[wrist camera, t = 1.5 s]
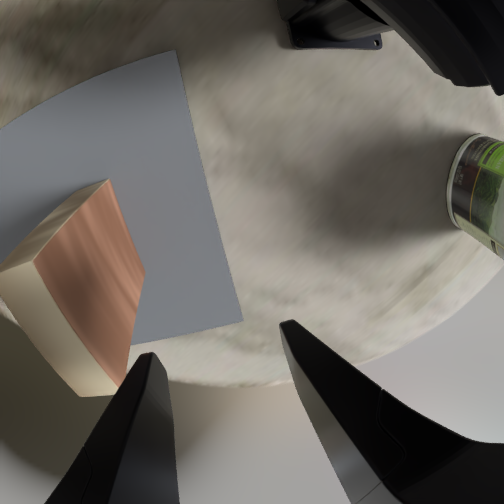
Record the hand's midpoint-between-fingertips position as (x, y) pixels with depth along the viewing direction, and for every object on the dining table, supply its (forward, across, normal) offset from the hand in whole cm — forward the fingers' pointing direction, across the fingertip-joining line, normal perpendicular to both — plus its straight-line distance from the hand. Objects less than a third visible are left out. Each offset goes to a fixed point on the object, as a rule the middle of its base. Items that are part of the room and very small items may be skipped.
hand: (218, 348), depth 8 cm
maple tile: (+12, +6, 0) cm, 13 cm away
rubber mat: (+12, +10, 0) cm, 15 cm away
